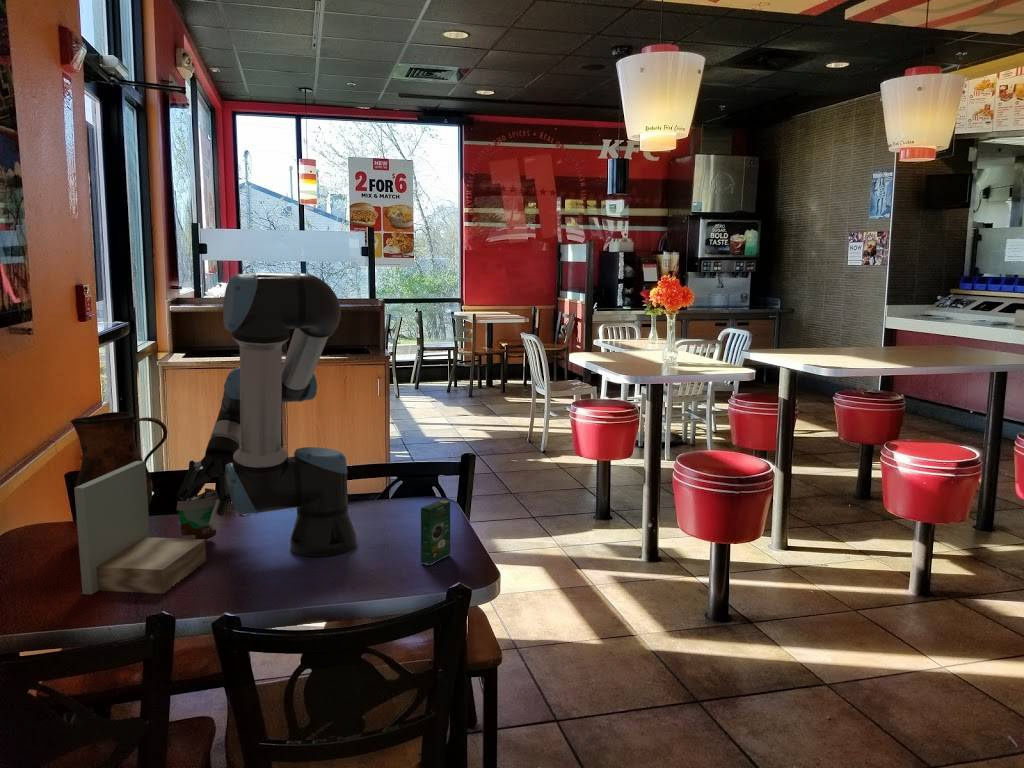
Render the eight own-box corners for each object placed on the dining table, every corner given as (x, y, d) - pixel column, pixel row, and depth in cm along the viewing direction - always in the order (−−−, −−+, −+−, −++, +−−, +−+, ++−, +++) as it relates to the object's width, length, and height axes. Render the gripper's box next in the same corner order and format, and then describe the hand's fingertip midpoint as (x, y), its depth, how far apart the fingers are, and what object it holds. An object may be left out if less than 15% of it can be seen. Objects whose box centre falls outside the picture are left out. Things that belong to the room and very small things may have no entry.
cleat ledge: (206, 560, 178) (204, 539, 178) (163, 593, 161) (162, 569, 160) (146, 558, 180) (145, 537, 179) (98, 590, 162) (96, 566, 161)
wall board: (151, 555, 182) (145, 461, 178) (92, 594, 160) (83, 488, 157) (142, 554, 182) (136, 460, 178) (82, 594, 160) (74, 487, 157)
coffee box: (441, 553, 184) (440, 498, 182) (451, 555, 182) (451, 500, 180) (419, 564, 177) (419, 507, 175) (430, 567, 175) (429, 509, 173)
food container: (203, 545, 182) (200, 503, 180) (178, 544, 183) (176, 501, 181) (231, 528, 194) (229, 488, 192) (208, 527, 195) (206, 487, 193)
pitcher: (89, 527, 200) (81, 410, 196) (180, 522, 205) (173, 407, 200) (67, 550, 184) (57, 423, 180) (166, 544, 189) (158, 419, 184)
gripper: (267, 451, 200) (243, 535, 186) (193, 450, 202) (163, 533, 188) (258, 435, 194) (231, 520, 180) (181, 433, 196) (150, 518, 182)
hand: (197, 526), depth 184 cm, fingers closed on food container, 6 cm apart
